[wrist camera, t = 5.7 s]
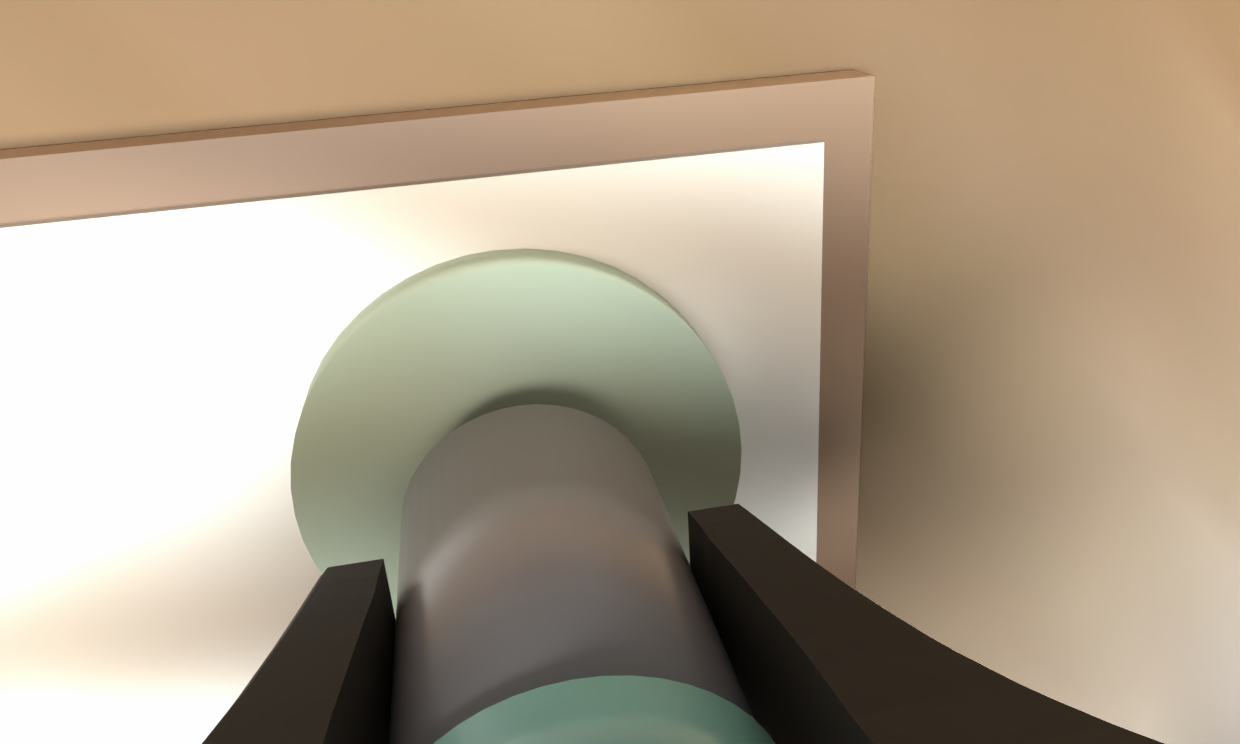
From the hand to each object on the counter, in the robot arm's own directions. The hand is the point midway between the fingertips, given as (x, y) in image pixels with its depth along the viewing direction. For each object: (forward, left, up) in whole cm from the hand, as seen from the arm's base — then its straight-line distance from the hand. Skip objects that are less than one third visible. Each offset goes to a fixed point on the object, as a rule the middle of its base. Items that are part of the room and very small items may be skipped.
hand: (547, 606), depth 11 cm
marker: (0, 0, -2) cm, 2 cm away
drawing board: (-3, +2, -5) cm, 6 cm away
